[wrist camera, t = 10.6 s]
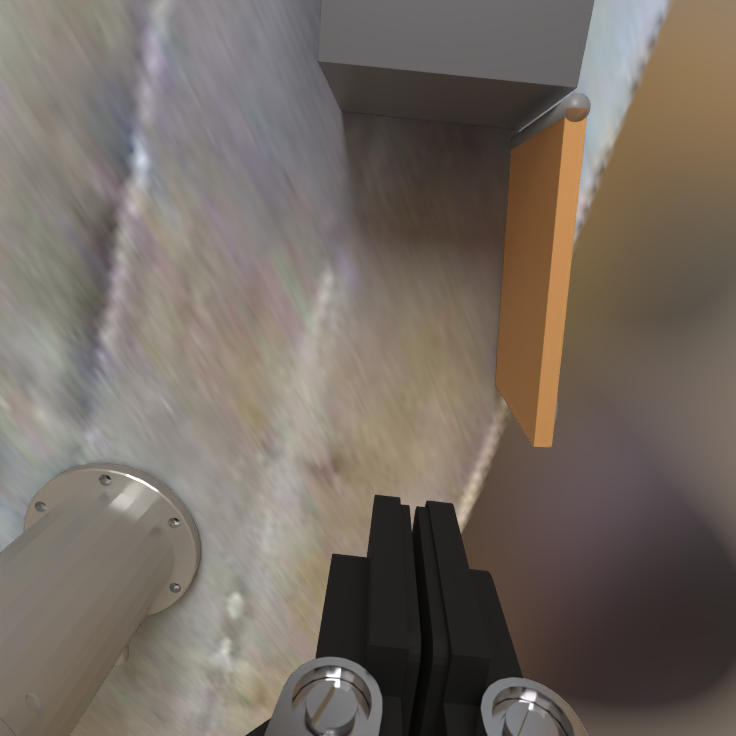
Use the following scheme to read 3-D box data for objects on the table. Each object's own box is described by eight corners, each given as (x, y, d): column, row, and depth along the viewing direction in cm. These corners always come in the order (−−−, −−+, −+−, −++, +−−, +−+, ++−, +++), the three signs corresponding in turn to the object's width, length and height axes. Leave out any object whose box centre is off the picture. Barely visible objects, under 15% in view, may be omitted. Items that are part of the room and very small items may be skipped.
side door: (538, 133, 27) (605, 92, 18) (517, 385, 31) (564, 447, 23) (510, 134, 27) (564, 93, 19) (493, 384, 31) (531, 446, 23)
